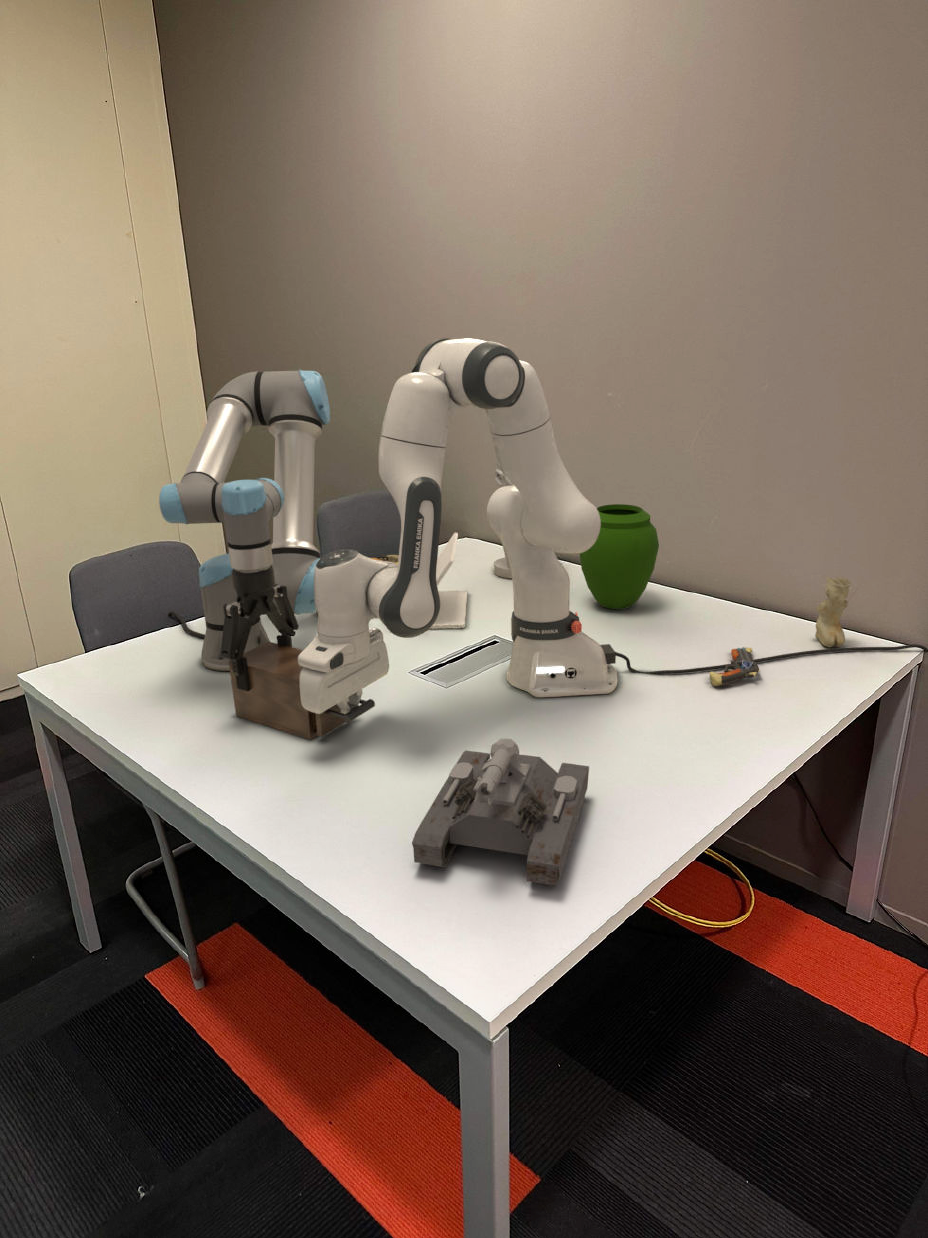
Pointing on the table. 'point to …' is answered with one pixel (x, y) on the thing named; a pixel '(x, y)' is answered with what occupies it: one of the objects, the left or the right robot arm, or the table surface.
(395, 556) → the spray gun
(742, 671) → the toy gun
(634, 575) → the vase
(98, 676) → the table surface
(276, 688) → the cabinet
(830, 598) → the sculpture
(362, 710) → the drawer
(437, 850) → the toy
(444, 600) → the tablet stand
